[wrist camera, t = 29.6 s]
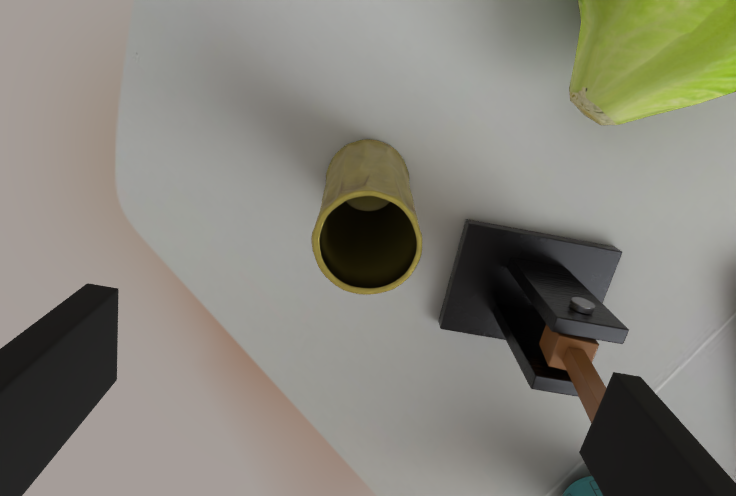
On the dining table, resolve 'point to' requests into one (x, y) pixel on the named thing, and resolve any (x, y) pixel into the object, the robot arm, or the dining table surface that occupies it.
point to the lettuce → (652, 56)
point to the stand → (531, 294)
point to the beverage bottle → (583, 488)
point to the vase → (367, 220)
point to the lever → (575, 365)
